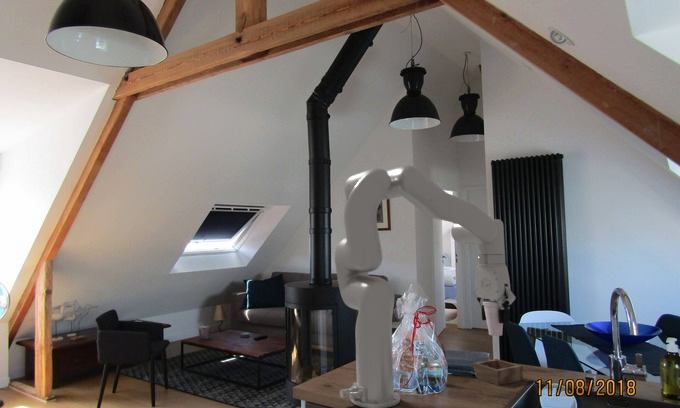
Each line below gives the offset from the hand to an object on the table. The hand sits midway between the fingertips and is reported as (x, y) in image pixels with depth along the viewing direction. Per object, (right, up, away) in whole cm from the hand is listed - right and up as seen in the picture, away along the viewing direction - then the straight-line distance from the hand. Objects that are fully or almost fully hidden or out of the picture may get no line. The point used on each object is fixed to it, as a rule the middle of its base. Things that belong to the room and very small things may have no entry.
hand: (494, 320), depth 140 cm
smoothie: (0, -4, 0) cm, 4 cm away
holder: (0, -17, -1) cm, 17 cm away
